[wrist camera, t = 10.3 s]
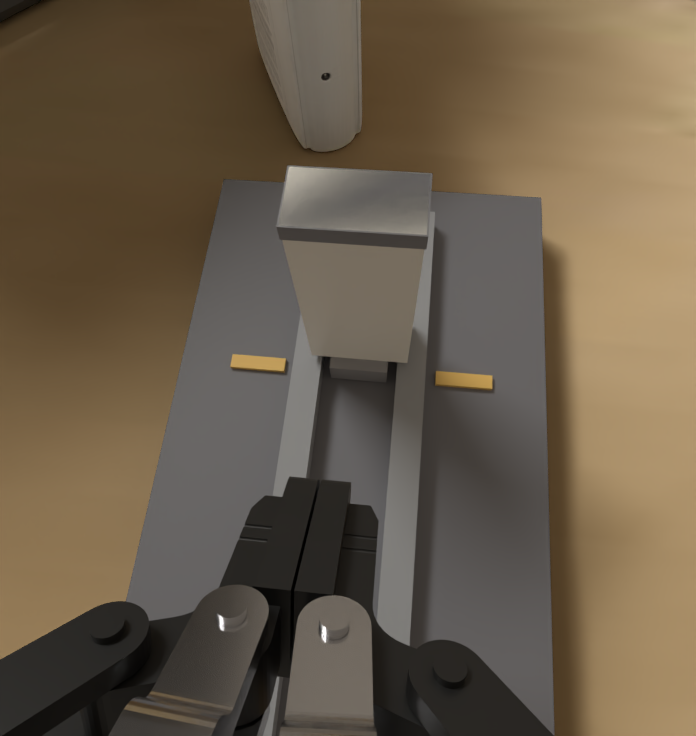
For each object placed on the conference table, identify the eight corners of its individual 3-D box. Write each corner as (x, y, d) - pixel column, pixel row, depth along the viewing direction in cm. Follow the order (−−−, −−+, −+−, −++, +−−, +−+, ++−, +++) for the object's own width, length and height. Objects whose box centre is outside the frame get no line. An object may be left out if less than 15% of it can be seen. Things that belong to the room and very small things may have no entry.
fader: (312, 376, 24) (273, 240, 15) (320, 315, 26) (289, 152, 16) (405, 384, 24) (427, 251, 15) (410, 322, 25) (433, 160, 16)
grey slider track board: (114, 763, 22) (69, 793, 18) (235, 209, 31) (218, 165, 28) (536, 822, 20) (567, 867, 17) (527, 228, 30) (547, 183, 27)
